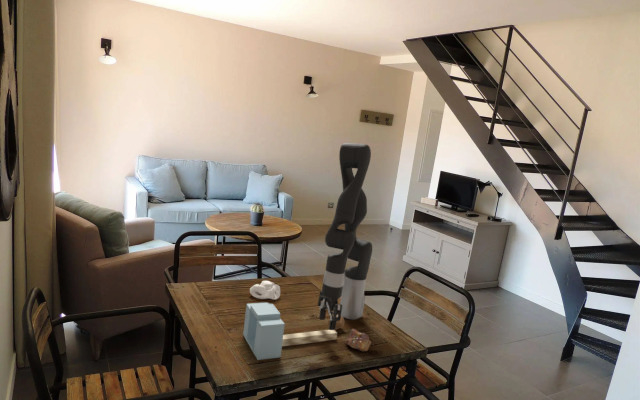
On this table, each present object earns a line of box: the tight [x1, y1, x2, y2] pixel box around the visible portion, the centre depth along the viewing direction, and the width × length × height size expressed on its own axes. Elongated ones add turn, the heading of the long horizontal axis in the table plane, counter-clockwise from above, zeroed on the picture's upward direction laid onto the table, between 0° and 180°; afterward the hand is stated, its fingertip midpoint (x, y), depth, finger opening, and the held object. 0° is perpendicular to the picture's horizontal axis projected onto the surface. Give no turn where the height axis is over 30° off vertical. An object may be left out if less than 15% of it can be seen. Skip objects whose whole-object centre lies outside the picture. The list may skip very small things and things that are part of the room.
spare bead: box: [327, 315, 345, 331], centre depth 175 cm, size 4×5×5 cm
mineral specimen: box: [345, 328, 372, 352], centre depth 163 cm, size 12×8×7 cm
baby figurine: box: [249, 280, 281, 301], centre depth 197 cm, size 9×13×9 cm
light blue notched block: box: [242, 302, 286, 361], centre depth 153 cm, size 8×17×14 cm, turn 26°
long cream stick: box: [282, 329, 338, 347], centre depth 162 cm, size 22×3×3 cm, turn 117°
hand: (326, 324), depth 165 cm, fingers open, 8 cm apart
